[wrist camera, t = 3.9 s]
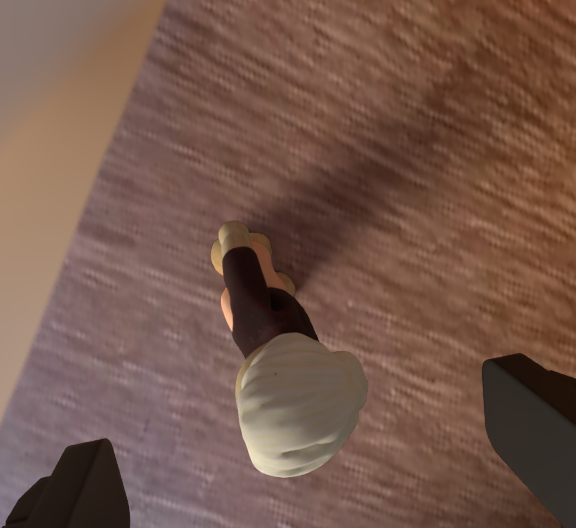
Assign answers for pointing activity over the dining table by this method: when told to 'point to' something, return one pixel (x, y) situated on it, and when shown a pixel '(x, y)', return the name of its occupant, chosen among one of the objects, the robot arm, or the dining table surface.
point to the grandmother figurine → (283, 363)
